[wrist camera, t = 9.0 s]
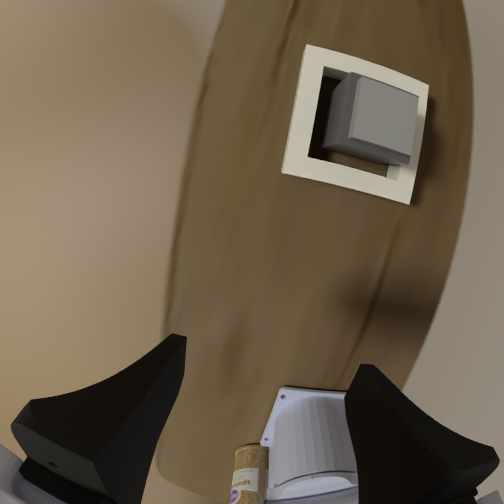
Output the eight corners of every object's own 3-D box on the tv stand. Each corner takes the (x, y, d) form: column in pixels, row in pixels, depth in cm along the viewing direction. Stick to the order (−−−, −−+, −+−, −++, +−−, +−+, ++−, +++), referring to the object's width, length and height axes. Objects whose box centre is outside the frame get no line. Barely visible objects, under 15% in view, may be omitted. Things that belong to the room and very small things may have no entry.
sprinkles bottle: (239, 439, 27) (227, 547, 14) (280, 445, 27) (280, 551, 14) (231, 458, 28) (218, 553, 16) (268, 464, 28) (265, 558, 16)
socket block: (397, 200, 19) (409, 204, 17) (281, 171, 19) (282, 172, 17) (415, 90, 16) (428, 85, 14) (303, 54, 16) (306, 44, 14)
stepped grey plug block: (375, 162, 18) (415, 165, 12) (320, 147, 18) (342, 142, 12) (384, 109, 17) (425, 93, 11) (330, 92, 17) (355, 67, 11)
